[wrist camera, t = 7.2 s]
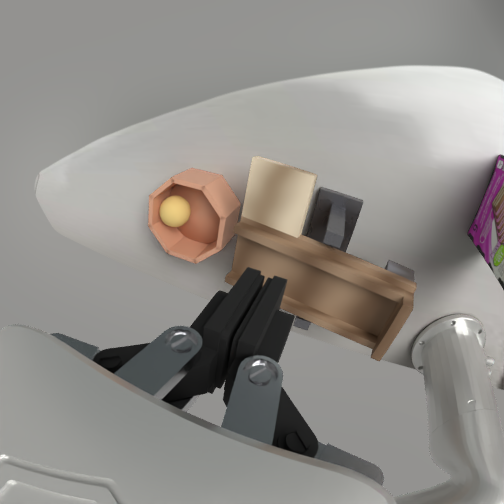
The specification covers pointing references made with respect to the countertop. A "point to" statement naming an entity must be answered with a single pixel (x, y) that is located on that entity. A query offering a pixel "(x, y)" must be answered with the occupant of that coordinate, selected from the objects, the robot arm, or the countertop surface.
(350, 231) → the stand
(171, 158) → the countertop surface
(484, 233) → the candy bar box
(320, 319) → the wooden tray
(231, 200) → the salmon orange faceted bowl
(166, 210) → the ball
